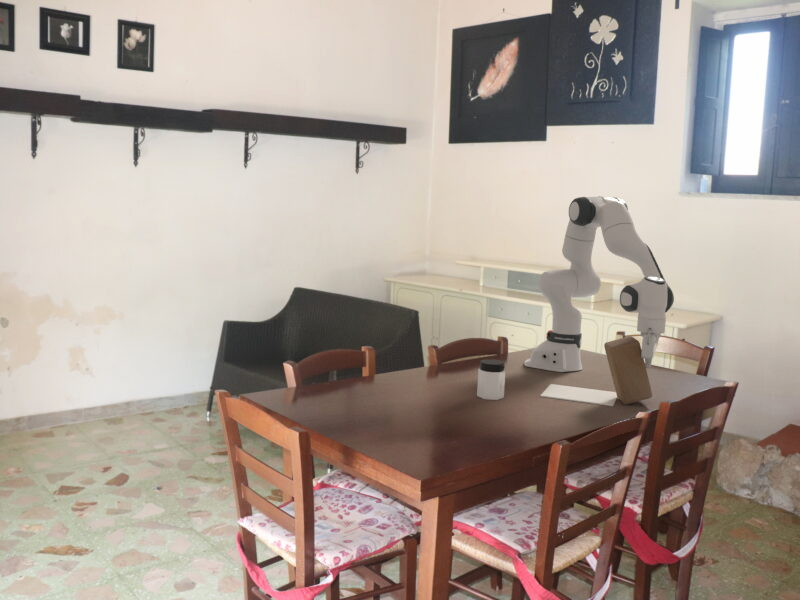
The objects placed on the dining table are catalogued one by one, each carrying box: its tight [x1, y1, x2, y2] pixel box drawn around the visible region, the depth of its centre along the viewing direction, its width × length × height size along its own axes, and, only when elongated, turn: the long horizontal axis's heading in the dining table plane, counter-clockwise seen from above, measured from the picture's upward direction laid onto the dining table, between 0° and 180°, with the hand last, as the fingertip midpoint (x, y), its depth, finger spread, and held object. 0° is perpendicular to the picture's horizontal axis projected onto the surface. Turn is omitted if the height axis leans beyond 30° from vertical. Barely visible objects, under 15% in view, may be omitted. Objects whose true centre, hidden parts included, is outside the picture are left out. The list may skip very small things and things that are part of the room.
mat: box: [540, 383, 619, 407], centre depth 275 cm, size 24×18×1 cm
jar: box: [476, 358, 506, 401], centre depth 267 cm, size 9×8×12 cm
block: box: [603, 335, 653, 405], centre depth 267 cm, size 10×10×20 cm
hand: (647, 367), depth 265 cm, fingers closed
